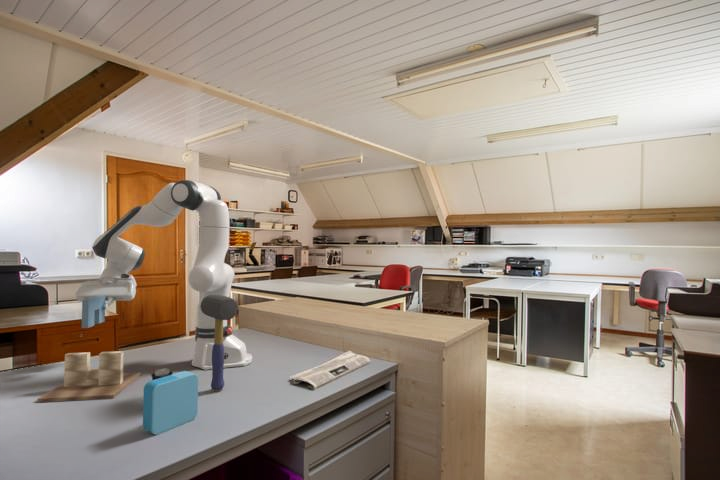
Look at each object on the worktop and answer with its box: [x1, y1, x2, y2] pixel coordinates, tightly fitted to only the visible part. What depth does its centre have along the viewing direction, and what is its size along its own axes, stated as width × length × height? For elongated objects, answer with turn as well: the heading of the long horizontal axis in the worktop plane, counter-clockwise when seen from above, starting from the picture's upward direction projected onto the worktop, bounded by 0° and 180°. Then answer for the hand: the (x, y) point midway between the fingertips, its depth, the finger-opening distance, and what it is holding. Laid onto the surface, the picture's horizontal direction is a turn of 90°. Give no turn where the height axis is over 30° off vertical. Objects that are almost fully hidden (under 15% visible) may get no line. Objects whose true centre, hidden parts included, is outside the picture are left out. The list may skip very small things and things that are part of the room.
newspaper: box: [289, 350, 371, 391], centre depth 137 cm, size 35×12×4 cm, turn 147°
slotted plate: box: [81, 296, 106, 329], centre depth 139 cm, size 12×2×10 cm, turn 10°
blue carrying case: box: [142, 370, 199, 436], centre depth 95 cm, size 12×4×12 cm, turn 147°
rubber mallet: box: [200, 295, 239, 392], centre depth 118 cm, size 12×8×30 cm, turn 49°
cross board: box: [36, 350, 142, 403], centre depth 119 cm, size 20×20×11 cm
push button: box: [150, 367, 174, 380], centre depth 105 cm, size 7×5×10 cm
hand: (99, 308), depth 142 cm, fingers closed on slotted plate, 2 cm apart
